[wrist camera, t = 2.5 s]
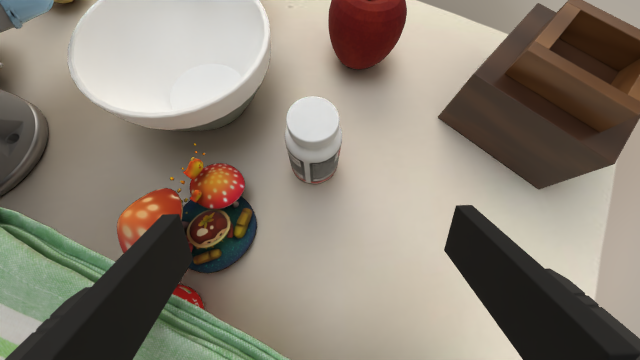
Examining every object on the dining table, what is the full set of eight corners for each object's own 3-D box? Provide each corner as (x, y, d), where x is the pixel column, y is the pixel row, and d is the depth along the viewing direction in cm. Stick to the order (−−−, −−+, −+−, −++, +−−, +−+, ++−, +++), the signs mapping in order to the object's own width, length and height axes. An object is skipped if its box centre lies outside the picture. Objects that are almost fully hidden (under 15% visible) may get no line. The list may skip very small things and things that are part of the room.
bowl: (124, 65, 35) (58, -5, 26) (255, 27, 38) (237, -48, 29) (151, 185, 29) (76, 148, 20) (303, 129, 32) (298, 75, 23)
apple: (351, 24, 38) (364, -54, 29) (402, 55, 37) (433, -18, 27) (313, 60, 36) (313, -13, 26) (365, 94, 34) (385, 29, 25)
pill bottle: (339, 146, 31) (350, 96, 22) (333, 188, 29) (342, 152, 20) (296, 140, 31) (287, 87, 22) (287, 180, 30) (274, 141, 20)
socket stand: (538, 189, 30) (658, 149, 19) (437, 117, 33) (493, 49, 23) (587, 114, 34) (709, 47, 23) (492, 56, 37) (562, -26, 26)
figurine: (194, 302, 24) (138, 310, 16) (142, 238, 27) (72, 218, 19) (282, 216, 28) (270, 189, 20) (229, 166, 30) (201, 125, 22)
